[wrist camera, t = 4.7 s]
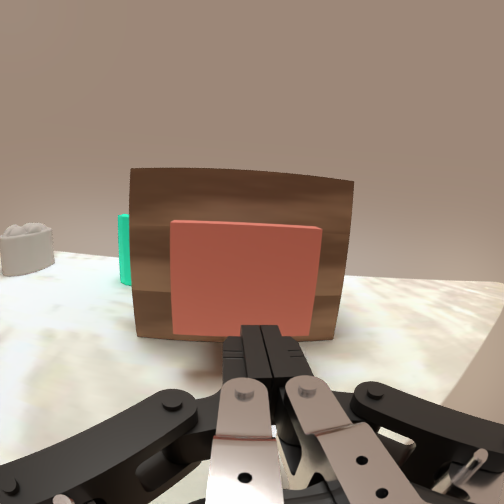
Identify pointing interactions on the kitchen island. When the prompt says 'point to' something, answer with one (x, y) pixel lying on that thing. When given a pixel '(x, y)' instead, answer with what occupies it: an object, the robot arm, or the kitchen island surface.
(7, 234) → the lumpy-topped squat cylinder
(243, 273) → the coral square plate
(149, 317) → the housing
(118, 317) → the kitchen island surface
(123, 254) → the candle
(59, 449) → the robot arm
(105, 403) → the kitchen island surface
